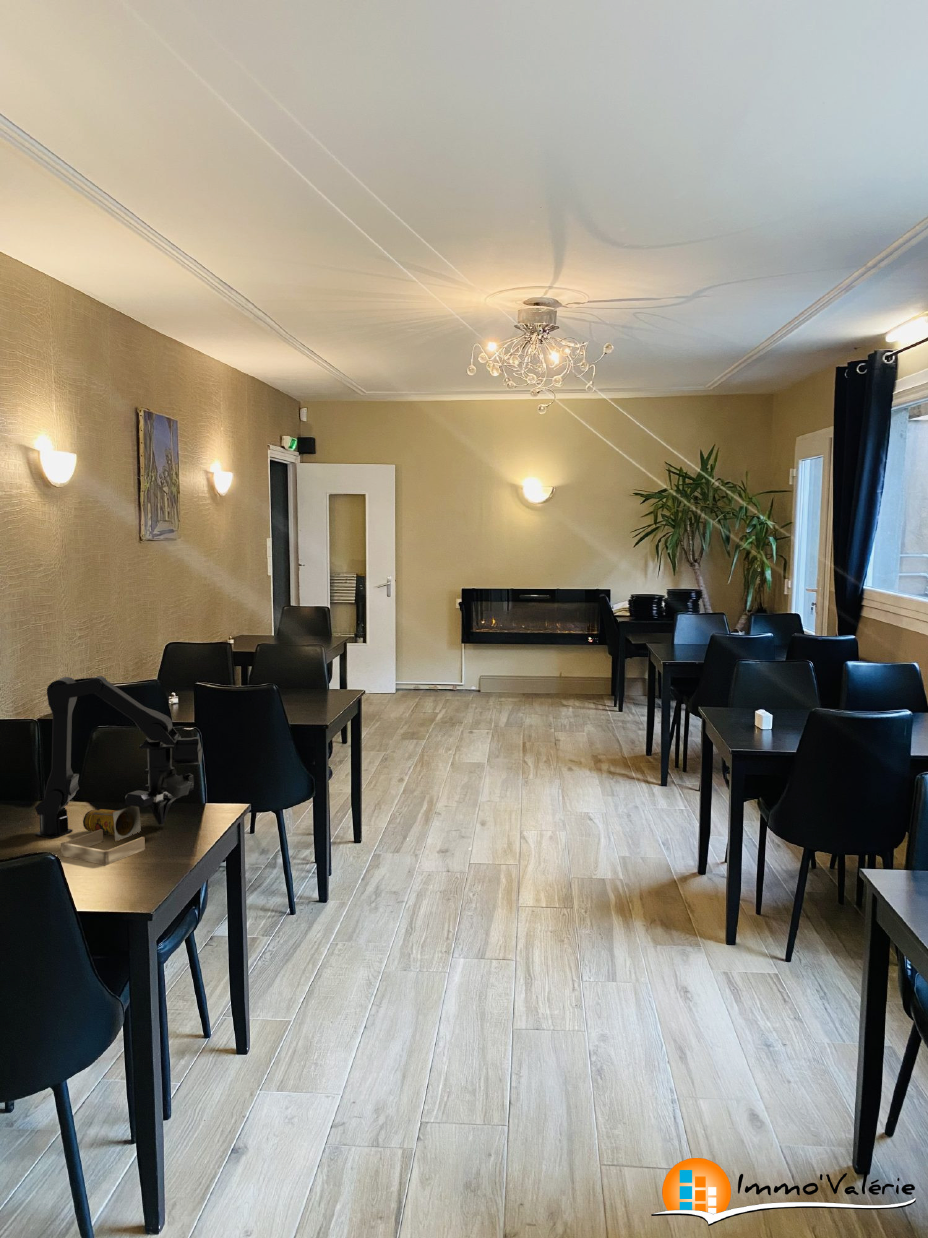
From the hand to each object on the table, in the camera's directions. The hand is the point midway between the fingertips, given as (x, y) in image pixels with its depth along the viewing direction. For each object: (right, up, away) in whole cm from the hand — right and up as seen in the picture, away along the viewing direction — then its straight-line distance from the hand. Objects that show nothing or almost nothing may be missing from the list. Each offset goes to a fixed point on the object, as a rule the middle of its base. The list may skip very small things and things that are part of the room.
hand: (161, 824), depth 230 cm
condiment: (-6, +2, -5) cm, 9 cm away
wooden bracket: (-8, -3, -17) cm, 19 cm away
